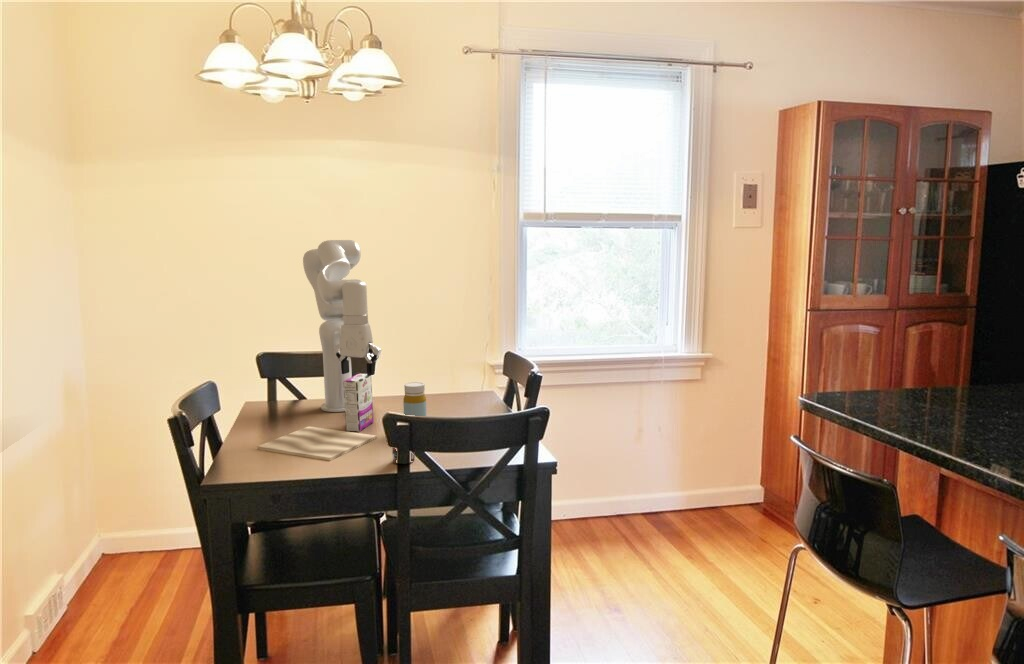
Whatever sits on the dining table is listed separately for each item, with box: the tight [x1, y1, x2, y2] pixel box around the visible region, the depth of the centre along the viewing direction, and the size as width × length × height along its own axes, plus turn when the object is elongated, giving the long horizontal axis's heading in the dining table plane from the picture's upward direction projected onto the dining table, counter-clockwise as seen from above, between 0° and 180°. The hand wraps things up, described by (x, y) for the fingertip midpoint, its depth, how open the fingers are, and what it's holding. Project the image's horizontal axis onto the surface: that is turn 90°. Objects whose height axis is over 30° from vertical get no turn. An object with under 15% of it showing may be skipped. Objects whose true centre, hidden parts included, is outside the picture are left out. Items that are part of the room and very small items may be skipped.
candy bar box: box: [343, 373, 374, 433], centre depth 215 cm, size 11×5×16 cm, turn 168°
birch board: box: [256, 426, 378, 461], centre depth 200 cm, size 22×26×1 cm
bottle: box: [403, 381, 427, 416], centre depth 211 cm, size 7×7×15 cm
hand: (358, 374), depth 214 cm, fingers open, 9 cm apart
